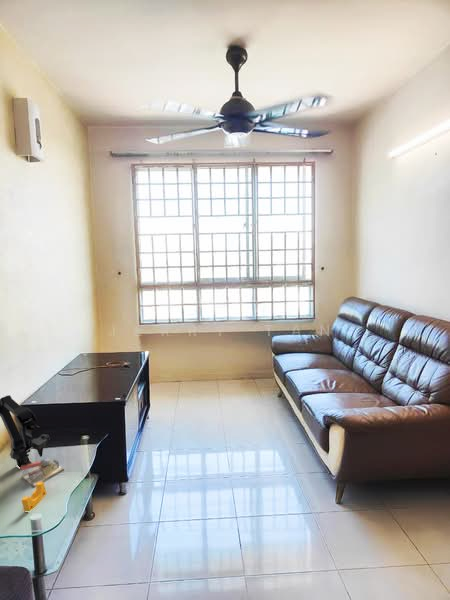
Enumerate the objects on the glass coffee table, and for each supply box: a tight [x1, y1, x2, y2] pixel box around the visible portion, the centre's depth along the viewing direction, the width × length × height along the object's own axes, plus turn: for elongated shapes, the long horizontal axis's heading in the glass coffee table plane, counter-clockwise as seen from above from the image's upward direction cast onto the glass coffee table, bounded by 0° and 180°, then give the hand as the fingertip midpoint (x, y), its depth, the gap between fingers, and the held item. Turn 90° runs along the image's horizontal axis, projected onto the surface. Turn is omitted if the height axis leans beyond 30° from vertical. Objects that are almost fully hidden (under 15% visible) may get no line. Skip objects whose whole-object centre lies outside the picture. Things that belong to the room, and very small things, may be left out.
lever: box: [20, 457, 50, 472], centre depth 193 cm, size 14×4×2 cm, turn 102°
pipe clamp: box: [21, 482, 47, 512], centre depth 172 cm, size 12×4×6 cm, turn 172°
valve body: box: [27, 458, 60, 482], centre depth 194 cm, size 6×14×4 cm, turn 139°
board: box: [21, 459, 65, 488], centre depth 196 cm, size 16×15×1 cm
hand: (35, 460), depth 198 cm, fingers open, 7 cm apart
